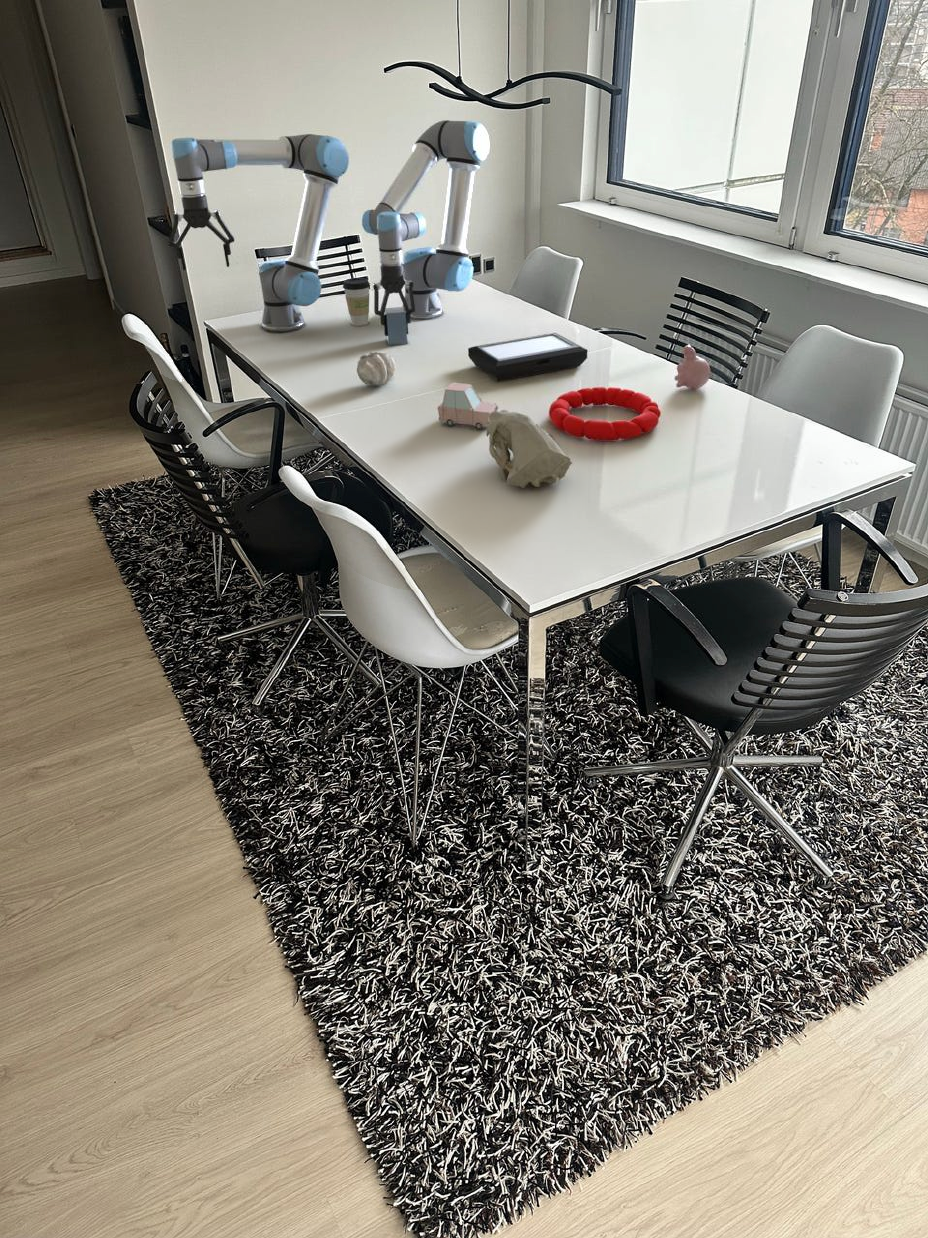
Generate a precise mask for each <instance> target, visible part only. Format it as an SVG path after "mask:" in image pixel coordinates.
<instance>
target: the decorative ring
mask: <svg viewBox="0 0 928 1238" xmlns="http://www.w3.org/2000/svg"><path fill="white" fill-rule="evenodd" d="M583 405H584V406H586V407H587V406H591V405H593V406H604V405H608V406H614V407H619V408H624V409H628V410H632V411H635V412H636V413H638V414H639V415H637V416H635V417H632V418H631V419H630V420H625V419H624V420H623V419H622V420H614V421H611V422H609V421H607V420H606V421H605V420H593V419H587V420H586V421H585V419H584V418H582V417H579V416H577V415H573V414H571V413H570V410H571V409H579V408H581V407H582V406H583ZM548 416H549V419H550V422H551V423H552V425H553V426H554V427H555V428H556V429H558V430H559V431H561V432H563V433H567V434H568V435H569V436H573V437H576V438H580V439H582V438H583V437H585V438H586V439H587V440H591V441H601V442H602V441H603V442H608V441H609V442H610V441H611V442H612V441H615V442H616V441H618V440H630V439H634V438H638V437H641V436H642V434H647V433H650V432H651V431H653V430H654V429H655V428H656V427H657V426H658V424H659V422H660V421H659V420H660V417H661V410H660V408H659V405H658V403H657V402H656V401H652V399H651V397H649V396H648V395H646V394H644V393H642V392H635V391H634V390H632V389H628V388H624V389H622V388H620V387H613V386H612V387H611V386H610V387H608V388H606V387H604V386H594V387H585V388H584V387H583V388H580V389H578V390H571V391H568V392H565V393H563V394H561V395H560V396H558V397H557V398H556V400H554V401H552V403H551V404H550V407H549V409H548Z"/></svg>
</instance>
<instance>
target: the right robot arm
mask: <svg viewBox="0 0 928 1238" xmlns="http://www.w3.org/2000/svg"><path fill="white" fill-rule="evenodd" d="M411 150H412V153H411V154H410V156H409V157H408V159H407V160H406V162H405V163H404V165H403V166H402V168H401V170H400V171H399V173H398V174H397V175H396V177H395V178H394V180H393V181H392V182H391V185H390V186H389V187H388V189H387V190H386V192H385V193H384V194H383V196H382V198H381V199H380V201H379V203H378V204H377V205H376V207H375V209H367V210H366V211H365V210H364V212H363V214H362V216H361V226H362V228H363V230H364V231H365V232H366V233H367V234H369V235H370V234H371V235H374V236H377V238H378V239H377V240H378V252H379V253H378V255H379V263H380V267H379V268H380V280H379V282H373V283H372V287H373V291H374V292H373V296H374V297H373V308H374V309H373V311H374V315H375V316H379V319H380V326H382V327H383V330H384V331H383V332H384V336H385V337H386V336H388V335H387V321H386V315H385V309H386V308H387V305H388V301H389V298H390V295H391V294H398V295H399V297H400V300H401V303H402V306H401V307H403V308H404V310H405V313H406V329H407V335H409V324H411V322H412V320H415V321H416V320H417V321H418V320H419V321H424V320H432V319H435V318H439V317H441V316H442V315H443V307H442V304H441V301H440V299H439V298H440V295H439V293H438V292H437V290H442V291H447V292H457V293H458V292H462V291H464V290H466V288H467V287H468V286H469V285H470V283H471V282H472V279H473V275H474V266H473V262H472V260H471V259H470V258H469V254H470V253H469V252H468V250H467V247H466V242H467V235H468V228H469V221H470V220H469V218H470V212H471V204H472V196H473V188H474V181H475V174H476V172H477V171H478V170H480V167H481V162H483V161H485V160H486V159H487V157H488V155H489V152H490V137H489V133H488V131H487V129H486V128H485V126H484V125H483V124H482V123H480V122H477V121H472V120H449V119H445V120H441V121H438V122H435V123H434V124H432V125H430V126H429V127H428V128H427V129H426V130H425V131H424V132H423V133H422V134H421V135H420V136H419V137H418V139H417V140H416V141H415V143H414V144H413V146H412V149H411ZM444 159H446V160H445V163H446V165H447V167H448V168H449V173H448V183H447V184H448V185H447V191H446V199H445V209H444V217H443V224H442V233H441V242H440V244H439V245H438V246H437V247H436V248H434V247H431V246H429V247H419V248H413V249H410V250H407V251H405V252H404V253H403V242H406V241H409V240H412V239H417V238H418V237H421V236H422V235H424V234H425V232H426V229H427V222H426V219H425V217H424V215H423V214H421V213H420V212H417V211H415V212H409V213H402V212H403V209H404V208H405V206H406V205H407V204H408V202H409V201H410V199H411V198H412V196H413V194H414V193H415V191H416V190H417V189H418V187H419V185H420V184H421V182H422V180H423V179H425V176H426V175H427V173H428V172H429V170H430V169H431V168H434V167H435V166H436V165H437V164H438V162H439V161H441V160H444ZM381 287H382V289H384V293H383V297H382V301H381V306H380V310H379V298H380V297H379V293H380V292H379V290H381ZM403 288H404V293H403Z"/></svg>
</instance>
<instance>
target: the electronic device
mask: <svg viewBox="0 0 928 1238" xmlns="http://www.w3.org/2000/svg"><path fill="white" fill-rule="evenodd" d="M467 353H468V354H467V355H468V358H469V359H470V360H471V361H472V363H473V364H474V366H475V367H477V368H478V369H479V370H481V371H483V372H484V373H486V374H487V375H489V376H490V377H491V378H493V379H494V380H496V381H497V382H500V381H507V380H511V379H517V378H522V377H528V376H534V375H539V374H544V373H550V372H555V371H561V370H567V369H571V368H578V367H580V366H582V365H583V363H584V362H585V361H586V360H587V359H588V349H586V348H585V347H583V346H581V345H579V344H578V343H576V342H574V341H572V340H570V339H568V338H566V337H565V336H562V335H560V333H557V332H551V333H545V334H539V335H533V336H528V337H522V338H515V339H509V340H505V341H497V342H492V343H485V344H481V345H475V346H474V345H473V346H471V347H468V349H467Z"/></svg>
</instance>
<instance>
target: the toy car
mask: <svg viewBox="0 0 928 1238" xmlns="http://www.w3.org/2000/svg"><path fill="white" fill-rule="evenodd" d="M498 409H499V404H498V403H497V402H490V401H489V402H487V401H483V397H481V396H480V395H479V394H478V393H477V391H476V390H475V389H474V386H472V384H469V383H459V382H451V383H450V384H449V385H448V386H447V387H446V388H445V389H444V394H443V399H442V403H440V404H439V405H438V406H437V413H438V421H439V422H443V423H446V425H447V426H448V427H452V426H454V425H455V424H461V425H469V426H473V427H475V429H476V430H479V431H480V430H481V429H483V428H485V427H486V428H487V423H488V422H490V414H491V413H492V412H496V411H499V410H498Z"/></svg>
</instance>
